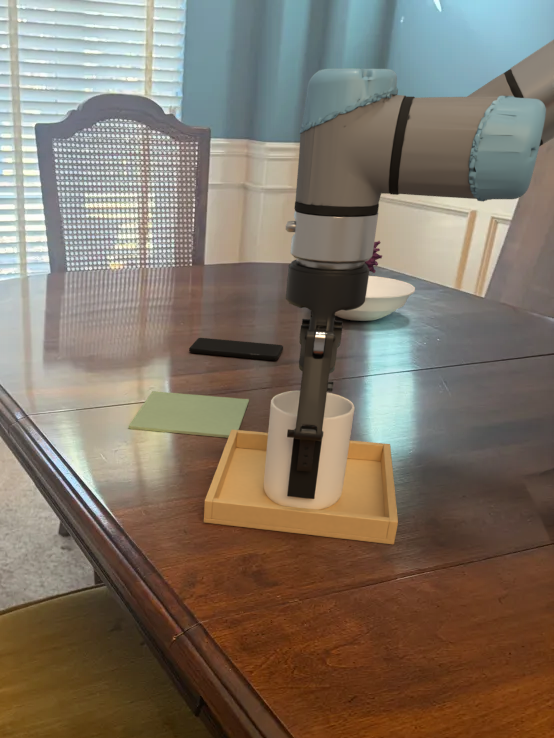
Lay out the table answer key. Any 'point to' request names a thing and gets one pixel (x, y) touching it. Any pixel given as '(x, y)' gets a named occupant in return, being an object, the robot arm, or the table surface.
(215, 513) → the tray
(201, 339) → the smartphone
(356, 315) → the bowl
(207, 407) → the mat
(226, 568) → the table surface
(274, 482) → the cup
